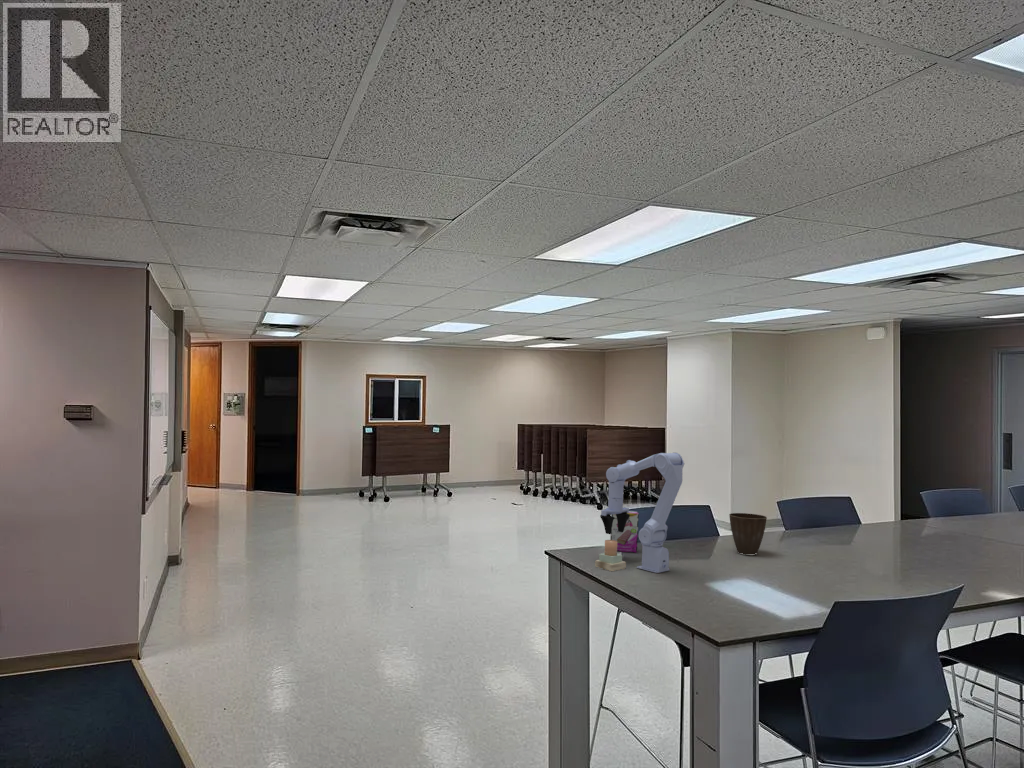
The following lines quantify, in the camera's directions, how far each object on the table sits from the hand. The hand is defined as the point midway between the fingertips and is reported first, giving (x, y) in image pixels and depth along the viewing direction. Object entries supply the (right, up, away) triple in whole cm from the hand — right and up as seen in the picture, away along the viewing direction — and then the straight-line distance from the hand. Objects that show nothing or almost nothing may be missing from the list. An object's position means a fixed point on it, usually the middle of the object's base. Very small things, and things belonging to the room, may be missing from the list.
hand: (614, 532), depth 265 cm
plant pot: (+59, -14, +20) cm, 64 cm away
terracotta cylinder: (-4, -5, -14) cm, 16 cm away
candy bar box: (+6, -11, +16) cm, 21 cm away
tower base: (-4, -10, -14) cm, 18 cm away
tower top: (-4, -7, -14) cm, 17 cm away
